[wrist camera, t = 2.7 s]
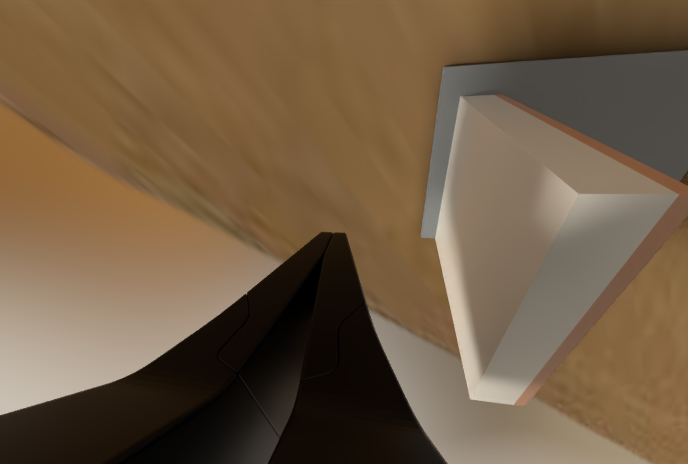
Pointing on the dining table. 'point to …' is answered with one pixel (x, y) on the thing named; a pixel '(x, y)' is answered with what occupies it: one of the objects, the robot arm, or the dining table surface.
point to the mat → (578, 107)
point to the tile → (539, 240)
